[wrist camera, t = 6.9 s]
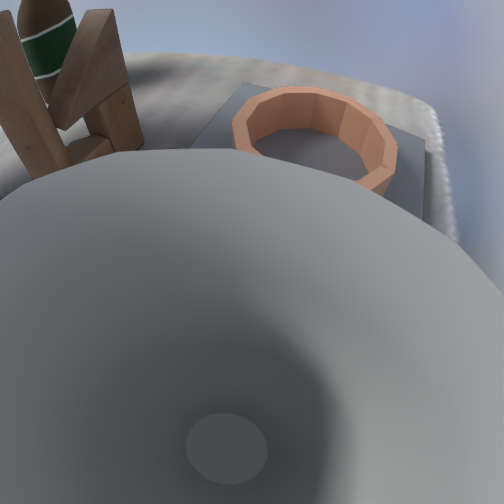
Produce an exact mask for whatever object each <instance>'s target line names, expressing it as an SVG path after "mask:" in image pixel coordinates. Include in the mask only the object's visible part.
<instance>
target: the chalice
mask: <svg viewBox="0 0 504 504" xmlns="http://www.w3.org/2000/svg"><path fill="white" fill-rule="evenodd" d="M0 504H504V295H503V294H502V293H501V292H500V290H499V289H498V288H497V287H496V286H495V285H494V283H493V282H492V281H491V280H490V279H489V278H488V277H487V275H486V274H485V273H484V272H483V271H482V270H481V269H480V268H479V267H478V265H477V264H476V263H475V262H474V261H473V260H472V259H471V258H470V257H469V256H468V255H467V254H466V253H465V252H464V250H463V249H462V248H461V247H460V246H459V245H458V244H457V243H456V242H455V241H453V240H452V239H450V238H449V237H447V236H445V235H444V234H442V233H441V232H439V231H438V230H436V229H435V228H433V227H431V226H430V225H428V224H427V223H425V222H424V221H422V220H420V219H419V218H417V217H415V216H414V215H412V214H410V213H409V212H407V211H405V210H404V209H402V208H400V207H399V206H397V205H395V204H394V203H392V202H390V201H388V200H387V199H385V198H383V197H381V196H380V195H378V194H376V193H374V192H373V191H371V190H369V189H367V188H365V187H363V186H362V185H360V184H358V183H356V182H354V181H352V180H351V179H347V178H344V177H341V176H337V175H334V174H330V173H327V172H323V171H320V170H316V169H312V168H309V167H305V166H301V165H297V164H293V163H290V162H286V161H282V160H278V159H274V158H269V157H265V156H261V155H257V154H252V153H248V152H244V151H239V150H234V149H164V150H142V151H125V152H116V153H112V154H109V155H106V156H102V157H99V158H96V159H93V160H89V161H86V162H83V163H80V164H77V165H74V166H71V167H68V168H65V169H62V170H60V171H57V172H54V173H51V174H48V175H46V176H43V177H40V178H38V179H35V180H33V181H30V182H27V183H25V184H23V185H22V186H20V187H19V188H17V189H16V190H14V191H13V192H11V193H10V194H9V195H7V196H6V197H4V198H3V199H2V200H0Z"/></svg>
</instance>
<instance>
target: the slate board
mask: <svg viewBox="0 0 504 504" xmlns="http://www.w3.org/2000/svg"><path fill="white" fill-rule="evenodd" d="M270 90H272V89H271V88H266V87H262V86H257V85H253V84H248V83H242V84H241V86H240V87H239V88H238V89H237V90H236V91H235V92H234V94H233V95H232V96H231V97H230V98H229V99H228V101H227V102H226V103H225V104H224V105H223V106H222V108H221V109H220V110H219V111H218V112H217V114H216V115H215V116H214V117H213V118H212V120H211V121H210V122H209V123H208V125H207V126H206V127H205V128H204V129H203V131H202V132H201V133H200V134H199V136H198V137H197V138H196V140H195V141H194V142H193V143H192V145H191V146H190V147H189V149H232V119H233V118H234V117H235V115H236V114H237V113H238V111H239V110H240V109H241V108H242V106H243V105H244V104H245V102H246V101H247V100H248V99H249V98H251V97H254V96H256V95H259V94H261V93H264V92H267V91H270ZM385 125H386V126H387V128H388V130H389V131H390V133H391V134H392V136H393V138H394V139H395V141H396V143H397V144H398V149H397V159H396V168H395V173H394V175H393V177H392V179H391V181H390V183H389V185H388V187H387V189H386V191H385V192H384V194H383V196H382V197H383V198H385V199H387V200H388V201H390V202H392V203H394V204H395V205H397V206H399V207H400V208H402V209H404V210H405V211H407V212H409V213H410V214H412V215H414V216H415V217H417V218H419V219H420V220H422V217H423V201H424V174H425V140H424V139H422V138H419V137H417V136H415V135H412V134H410V133H408V132H405V131H403V130H400V129H398V128H395V127H393V126H390V125H387V124H385ZM253 148H254V149H256V150H257V151H258V152H259V153H260V154H261V155H263V156H265V157H269V158H274V159H278V160H282V161H286V162H290V163H293V164H297V165H301V166H305V167H309V168H312V169H316V170H320V171H323V172H327V173H330V174H334V175H337V176H341V177H344V178H347V179H351V180H352V181H358V180H360V179H362V178H363V177H365V176H366V175H368V174H369V173H368V171H367V169H366V167H365V164H364V162H363V160H362V158H361V156H360V154H358V153H357V152H356V151H355V150H353V149H352V148H351V147H350V146H348V145H347V144H346V143H344V142H343V141H342V140H341V139H339V138H338V137H335V136H332V135H329V134H326V133H323V132H320V131H317V130H314V129H310V128H300V129H280V130H278V131H276V132H274V133H272V134H270V135H268V136H265V137H263V138H261V139H259V140H257V142H256V144H255V145H254V147H253Z"/></svg>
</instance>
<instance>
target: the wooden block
mask: <svg viewBox="0 0 504 504" xmlns="http://www.w3.org/2000/svg"><path fill="white" fill-rule="evenodd" d="M128 81H129V78H128V74H127V70H126V66H125V62H124V57H123V53H122V48H121V44H120V40H119V34H118V30H117V25H116V20H115V16H114V10H113V9H94V10H87V11H86V12H85V14H84V16H83V18H82V20H81V23H80V25H79V27H78V29H77V31H76V33H75V35H74V38H73V40H72V42H71V45H70V47H69V49H68V52H67V54H66V57H65V59H64V62H63V65H62V67H61V70H60V73H59V75H58V78H57V81H56V84H55V87H54V90H53V93H52V96H51V99H50V102H49V105H48V109H47V107H46V105H45V102H44V100H43V98H42V95H41V93H40V91H39V88H38V86H37V84H36V81H35V79H34V76H33V74H32V71H31V69H30V66H29V63H28V61H27V58H26V55H25V53H24V50H23V47H22V44H21V42H20V39H19V36H18V33H17V30H16V27H15V24H14V21H13V18H12V14H11V12H10V11H9V10H5V11H1V12H0V125H1V127H2V128H3V130H4V132H5V134H6V135H7V137H8V139H9V141H10V142H11V144H12V146H13V147H14V149H15V151H16V152H17V154H18V156H19V157H20V159H21V161H22V162H23V164H24V165H25V167H26V169H27V170H28V172H29V173H30V175H31V176H32V178H33V180H35V179H38V178H40V177H43V176H46V175H48V174H51V173H54V172H57V171H60V170H62V169H65V168H68V167H71V166H74V165H77V164H80V163H83V162H86V161H89V160H93V159H96V158H99V157H102V156H106V155H109V154H112V153H116V152H125V151H136V150H137V149H138V148H139V147H140V146H141V145H142V144H143V143H144V138H143V135H142V131H141V128H140V124H139V120H138V117H137V113H136V109H135V105H134V101H133V97H132V93H131V89H130V85H129V84H128V83H127V82H128ZM82 117H83V118H84V120H85V123H86V125H87V128H88V130H89V133H90V135H91V136H88V137H85V138H82V139H79V140H76V141H73V142H71V143H70V144H69V145H68V146H67V147H66V148H65V146H64V144H63V141H62V139H61V137H60V135H59V133H58V131H57V129H56V128H59V129H61V130H63V131H66V130H67V129H69V128H70V127H71V126H72V125H73V124H74V123H76V122H77V121H78V120H79V119H80V118H82Z"/></svg>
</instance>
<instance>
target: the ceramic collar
mask: <svg viewBox="0 0 504 504" xmlns="http://www.w3.org/2000/svg"><path fill="white" fill-rule="evenodd" d="M300 128H310V129H314V130H317V131H320V132H323V133H326V134H329V135H332V136H335V137H338V138H339V139H341V140H342V141H343V142H344V143H346V144H347V145H348V146H350V147H351V148H352V149H353V150H355V151H356V152H357V153H358V154H360V156H361V158H362V160H363V162H364V164H365V167H366V169H367V171H368V173H369V174H368V175H366V176H365V177H363V178H362V179H360V180H358V181H354V182H356V183H358V184H360V185H362V186H363V187H365V188H367V189H369V190H371V191H373V192H374V193H376V194H378V195H380V196H381V197H382V196H383V194H384V192H385V191H386V189H387V187H388V185H389V183H390V181H391V179H392V177H393V175H394V173H395V168H396V159H397V149H398V144H397V143H396V141H395V139H394V138H393V136H392V134H391V133H390V131H389V130H388V128H387V126H386V125H385V123H384V122H383V120H382V119H381V118H380V117H379V116H377V115H376V114H375V113H373V112H372V111H370V110H369V109H368V108H366V107H365V106H363V105H362V104H360V103H359V102H357V101H356V100H354V99H353V98H352V99H351V97H348V96H344V95H341V94H338V93H335V92H332V91H328V90H325V89H321V88H318V87H280V88H279V87H278V88H275V89H272V90H270V91H267V92H264V93H261V94H259V95H256V96H254V97H251V98H249V99H248V100H247V101H246V102H245V104H244V105H243V106H242V108H241V109H240V110H239V111H238V113H237V114H236V115H235V117H234V118H233V119H232V149H234V150H239V151H244V152H248V153H252V154H257V155H261V154H260V153H259V152H258V151H257V150H256V149H254V148H253V147H254V145H255V144H256V142H257V140H259V139H261V138H263V137H265V136H268V135H270V134H272V133H274V132H276V131H278V130H280V129H300ZM261 156H263V155H261Z"/></svg>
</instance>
